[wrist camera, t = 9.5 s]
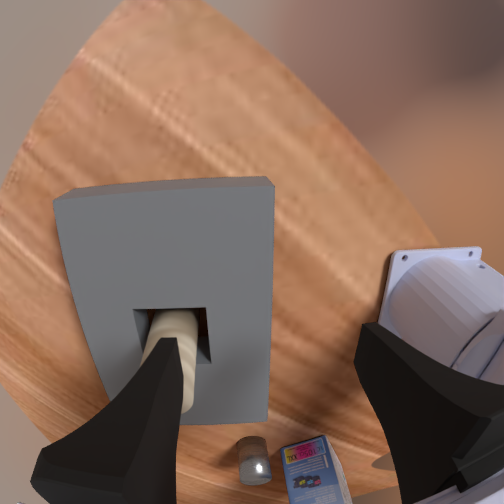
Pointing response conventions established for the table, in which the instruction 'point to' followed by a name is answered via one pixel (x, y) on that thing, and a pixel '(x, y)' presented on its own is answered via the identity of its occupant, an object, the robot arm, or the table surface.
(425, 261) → the robot arm
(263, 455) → the short steel pin
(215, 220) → the hole plate
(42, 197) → the table surface
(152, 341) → the birch pin
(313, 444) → the ink cartridge box
